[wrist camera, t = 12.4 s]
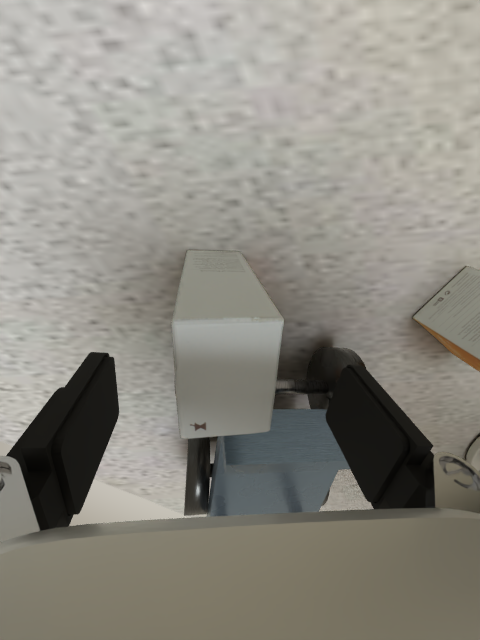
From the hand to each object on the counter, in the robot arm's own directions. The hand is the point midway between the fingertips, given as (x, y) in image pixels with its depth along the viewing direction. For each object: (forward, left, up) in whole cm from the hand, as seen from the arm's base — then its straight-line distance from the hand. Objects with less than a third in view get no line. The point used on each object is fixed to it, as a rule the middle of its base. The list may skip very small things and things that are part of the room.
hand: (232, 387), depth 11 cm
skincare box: (0, 0, -12) cm, 12 cm away
